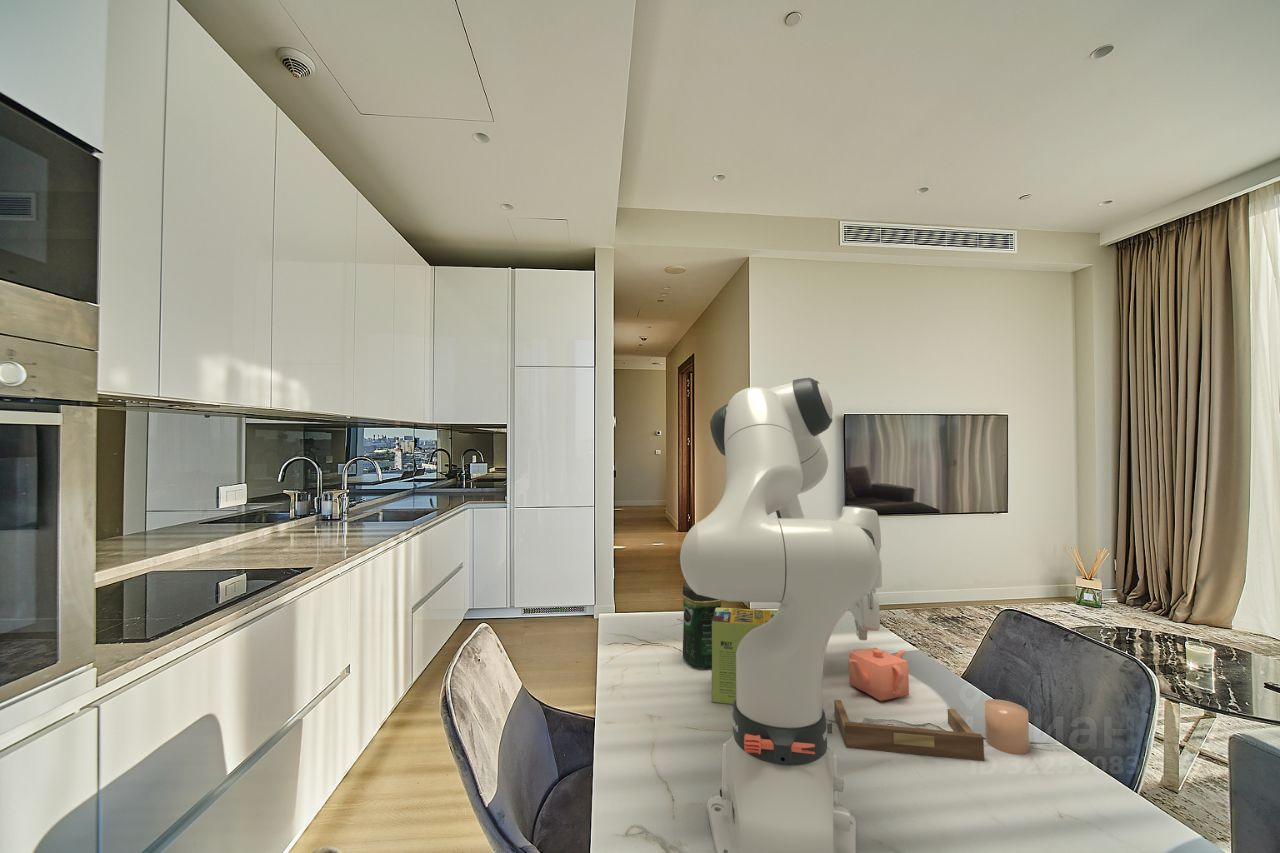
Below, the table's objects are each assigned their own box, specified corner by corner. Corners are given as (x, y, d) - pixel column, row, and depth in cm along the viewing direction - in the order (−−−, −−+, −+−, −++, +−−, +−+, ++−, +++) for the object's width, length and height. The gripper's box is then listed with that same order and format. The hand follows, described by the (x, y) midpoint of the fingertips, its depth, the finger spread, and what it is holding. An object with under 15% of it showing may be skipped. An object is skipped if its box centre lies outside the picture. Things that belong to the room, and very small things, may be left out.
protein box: (794, 710, 101) (793, 626, 102) (711, 703, 104) (710, 620, 105) (790, 687, 111) (789, 610, 112) (714, 680, 115) (714, 606, 115)
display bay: (984, 761, 84) (984, 738, 85) (846, 747, 88) (846, 725, 88) (955, 723, 96) (954, 703, 96) (834, 713, 100) (834, 694, 100)
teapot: (828, 686, 112) (827, 645, 112) (883, 675, 117) (882, 636, 118) (872, 712, 101) (871, 666, 101) (931, 698, 106) (930, 655, 107)
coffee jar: (727, 668, 121) (726, 583, 122) (694, 672, 119) (694, 586, 120) (708, 653, 130) (708, 574, 131) (678, 656, 128) (678, 576, 129)
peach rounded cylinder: (1037, 756, 86) (1035, 717, 86) (995, 752, 87) (994, 714, 87) (1018, 737, 92) (1017, 700, 92) (979, 733, 93) (978, 697, 93)
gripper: (887, 588, 113) (888, 656, 113) (865, 567, 133) (866, 625, 133) (855, 587, 114) (856, 654, 114) (838, 566, 135) (839, 623, 134)
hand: (861, 638), depth 123 cm, fingers closed
